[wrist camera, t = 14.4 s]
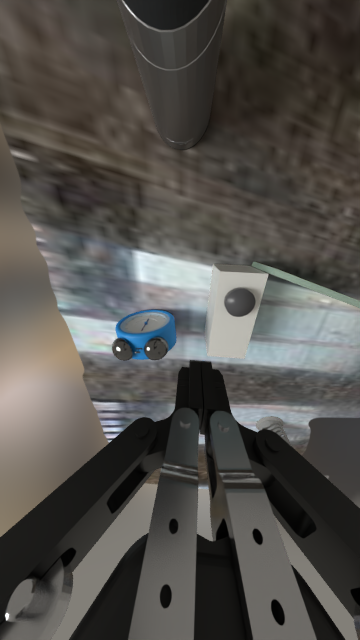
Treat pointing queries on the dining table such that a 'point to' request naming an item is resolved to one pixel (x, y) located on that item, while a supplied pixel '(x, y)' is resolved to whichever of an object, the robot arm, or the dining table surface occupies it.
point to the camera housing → (232, 309)
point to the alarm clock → (145, 335)
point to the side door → (306, 284)
